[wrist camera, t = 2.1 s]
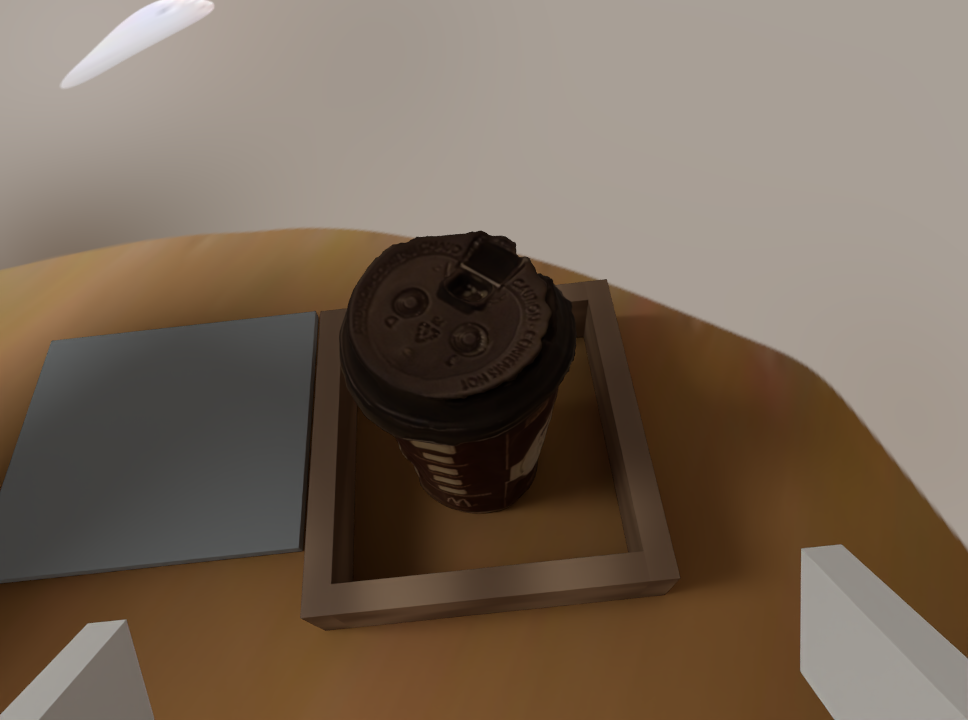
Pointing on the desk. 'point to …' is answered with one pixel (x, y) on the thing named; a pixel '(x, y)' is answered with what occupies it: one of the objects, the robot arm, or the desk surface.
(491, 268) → the coffee cup
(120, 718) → the robot arm
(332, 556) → the square frame
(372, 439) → the desk surface
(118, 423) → the mat
